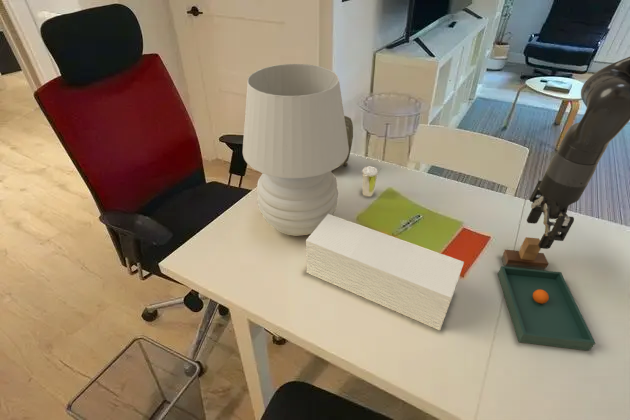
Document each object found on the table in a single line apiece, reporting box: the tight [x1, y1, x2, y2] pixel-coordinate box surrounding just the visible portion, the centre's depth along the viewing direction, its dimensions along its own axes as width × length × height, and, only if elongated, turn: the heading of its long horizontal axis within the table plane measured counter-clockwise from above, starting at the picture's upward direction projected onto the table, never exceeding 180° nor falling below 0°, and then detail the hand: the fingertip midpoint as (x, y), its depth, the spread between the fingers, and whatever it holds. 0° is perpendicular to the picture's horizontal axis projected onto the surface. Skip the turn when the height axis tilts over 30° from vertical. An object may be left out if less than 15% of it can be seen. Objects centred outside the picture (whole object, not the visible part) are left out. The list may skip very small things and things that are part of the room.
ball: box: [533, 290, 549, 304], centre depth 81 cm, size 3×3×3 cm
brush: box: [500, 236, 549, 271], centre depth 89 cm, size 9×4×8 cm, turn 82°
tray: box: [497, 265, 596, 352], centre depth 80 cm, size 13×18×3 cm
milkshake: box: [362, 165, 381, 198], centre depth 111 cm, size 4×5×10 cm
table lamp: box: [242, 63, 349, 237], centre depth 91 cm, size 25×25×40 cm
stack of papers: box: [305, 214, 465, 331], centre depth 83 cm, size 32×11×11 cm, turn 61°
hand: (536, 234), depth 85 cm, fingers open, 8 cm apart
